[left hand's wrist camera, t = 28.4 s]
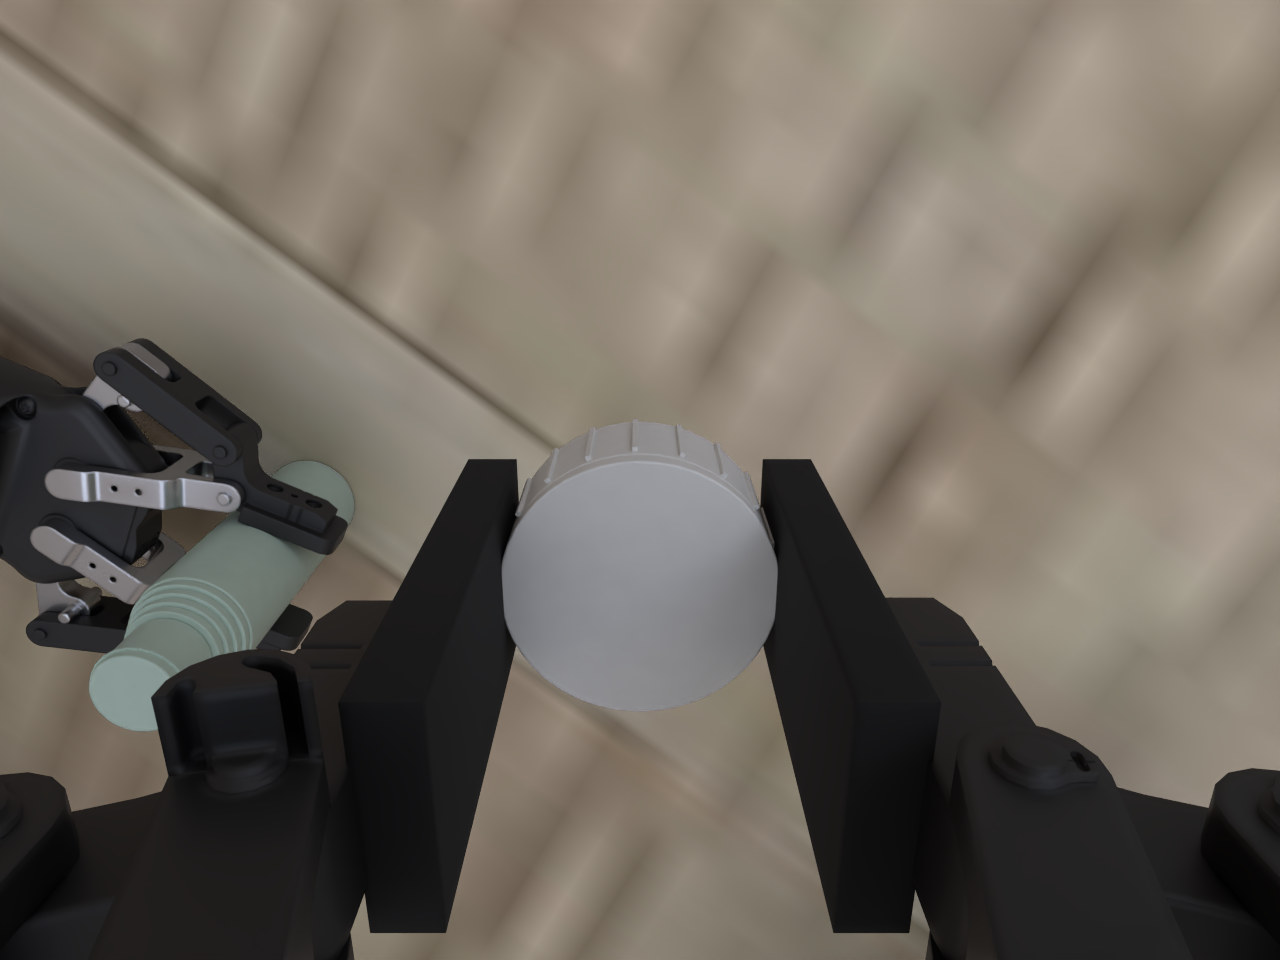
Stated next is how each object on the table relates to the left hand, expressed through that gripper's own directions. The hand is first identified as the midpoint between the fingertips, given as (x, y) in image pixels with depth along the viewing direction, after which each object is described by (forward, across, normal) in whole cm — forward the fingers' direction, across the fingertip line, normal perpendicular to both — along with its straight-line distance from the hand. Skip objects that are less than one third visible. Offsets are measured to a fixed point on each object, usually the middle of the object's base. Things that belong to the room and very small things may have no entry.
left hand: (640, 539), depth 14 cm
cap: (-2, 0, 0) cm, 2 cm away
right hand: (+20, +13, +11) cm, 26 cm away
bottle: (+27, +16, +10) cm, 32 cm away
